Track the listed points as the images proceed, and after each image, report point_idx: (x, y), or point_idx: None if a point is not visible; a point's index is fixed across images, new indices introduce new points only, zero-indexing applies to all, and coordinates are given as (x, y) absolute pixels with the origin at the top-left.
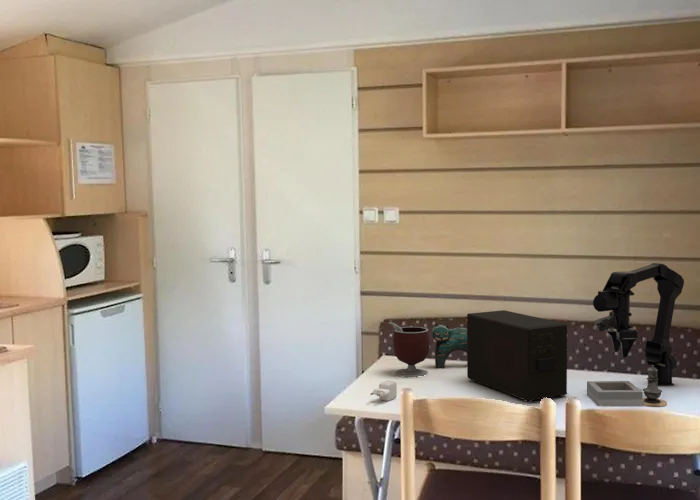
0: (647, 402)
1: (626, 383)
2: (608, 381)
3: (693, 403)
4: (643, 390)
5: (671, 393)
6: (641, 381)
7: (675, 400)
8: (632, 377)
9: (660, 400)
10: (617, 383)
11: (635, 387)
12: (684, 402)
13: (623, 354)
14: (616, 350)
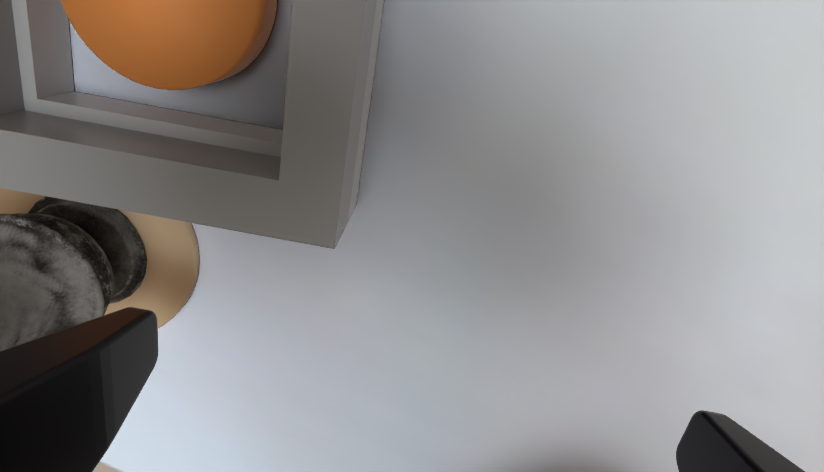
0: (44, 198)
1: (240, 180)
2: (346, 24)
3: (103, 458)
4: (8, 216)
5: (333, 465)
6: (675, 457)
7: (169, 407)
8: (806, 459)
9: (112, 311)
10: (288, 104)
11: (79, 187)
12: (124, 428)
13: (69, 338)
14: (694, 451)
